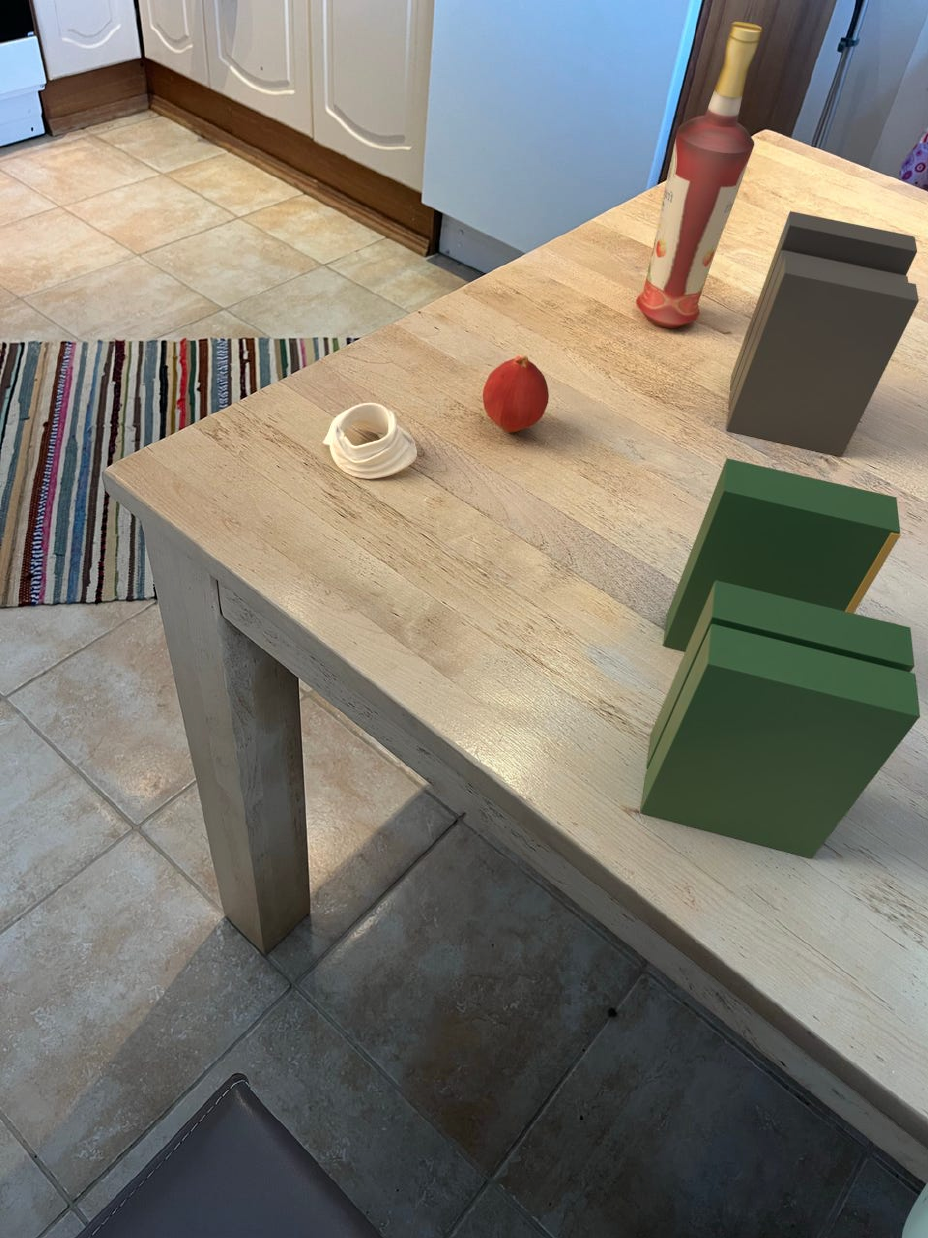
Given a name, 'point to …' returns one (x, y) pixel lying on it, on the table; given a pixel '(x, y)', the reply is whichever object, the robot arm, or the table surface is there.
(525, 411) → the onion
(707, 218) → the liquor
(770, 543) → the green book
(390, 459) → the white cowl scarf
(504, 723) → the table surface
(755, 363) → the grey books
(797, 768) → the green books
